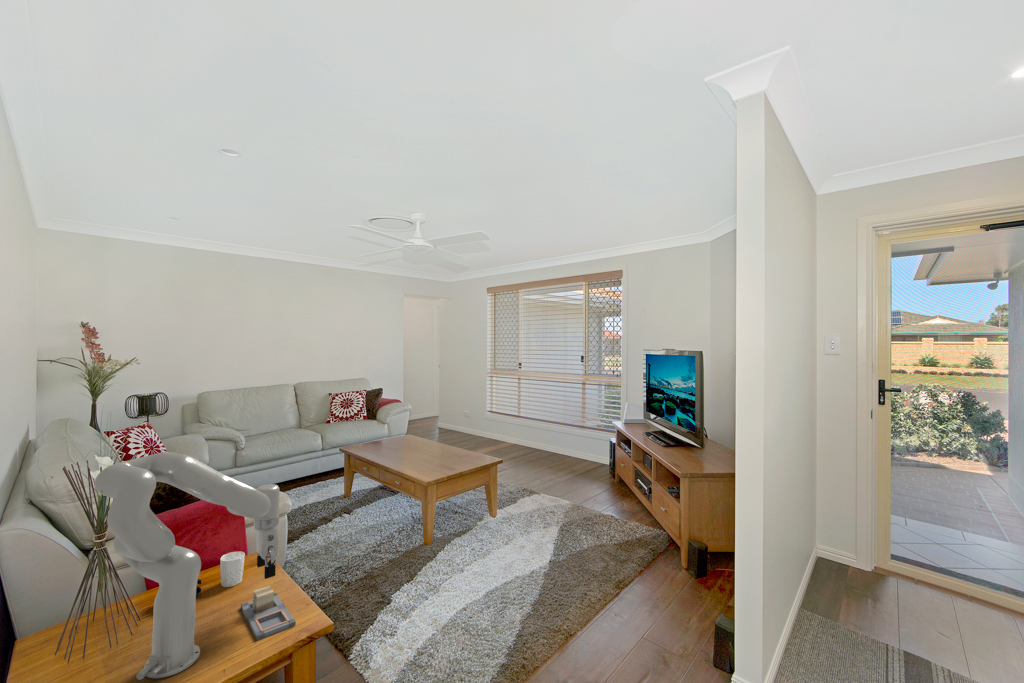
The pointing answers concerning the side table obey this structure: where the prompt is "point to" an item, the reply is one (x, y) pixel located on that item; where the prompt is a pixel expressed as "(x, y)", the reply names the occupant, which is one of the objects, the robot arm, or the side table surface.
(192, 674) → the side table surface
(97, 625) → the side table surface
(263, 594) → the birch block
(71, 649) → the side table surface
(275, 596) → the grey slotted tray
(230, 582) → the white cup
